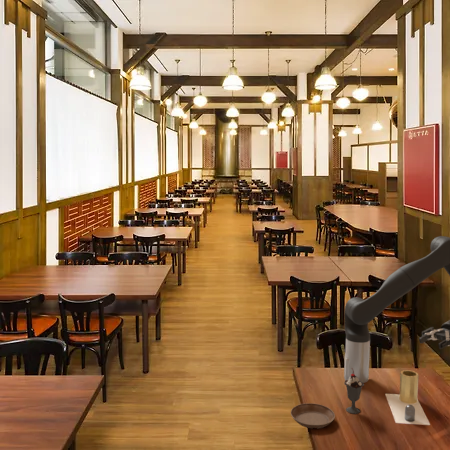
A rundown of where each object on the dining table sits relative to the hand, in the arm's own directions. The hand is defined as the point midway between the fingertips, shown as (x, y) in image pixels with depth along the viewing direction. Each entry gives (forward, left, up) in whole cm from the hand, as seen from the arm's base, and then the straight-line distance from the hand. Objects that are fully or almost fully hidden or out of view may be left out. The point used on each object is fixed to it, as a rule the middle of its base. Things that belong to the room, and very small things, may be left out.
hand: (429, 343), depth 198 cm
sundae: (-29, -17, -20) cm, 39 cm away
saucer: (-43, -26, -20) cm, 54 cm away
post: (-11, -23, -20) cm, 32 cm away
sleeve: (-9, -8, -19) cm, 22 cm away
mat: (-11, -15, -20) cm, 27 cm away
